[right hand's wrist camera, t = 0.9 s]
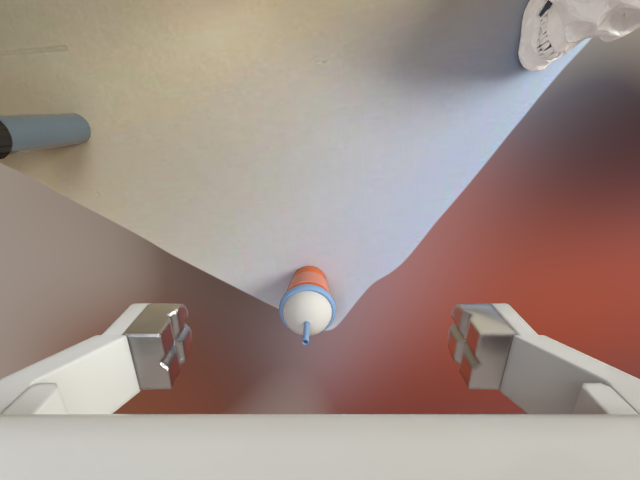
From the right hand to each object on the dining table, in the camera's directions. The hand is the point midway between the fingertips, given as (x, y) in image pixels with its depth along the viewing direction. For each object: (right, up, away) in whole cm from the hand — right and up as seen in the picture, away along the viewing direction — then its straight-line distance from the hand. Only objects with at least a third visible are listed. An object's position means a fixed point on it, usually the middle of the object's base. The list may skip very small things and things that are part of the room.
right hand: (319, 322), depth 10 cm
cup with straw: (-2, -5, +54) cm, 54 cm away
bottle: (-39, +20, +44) cm, 62 cm away
